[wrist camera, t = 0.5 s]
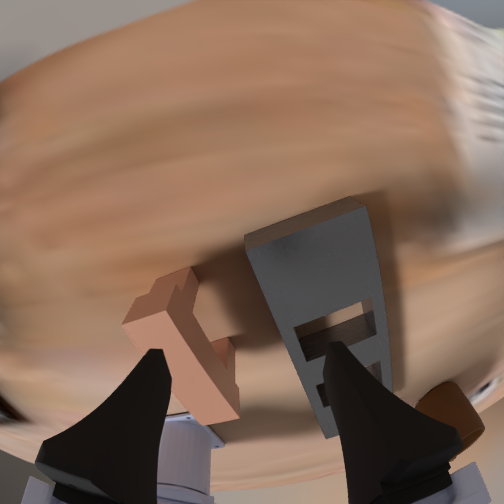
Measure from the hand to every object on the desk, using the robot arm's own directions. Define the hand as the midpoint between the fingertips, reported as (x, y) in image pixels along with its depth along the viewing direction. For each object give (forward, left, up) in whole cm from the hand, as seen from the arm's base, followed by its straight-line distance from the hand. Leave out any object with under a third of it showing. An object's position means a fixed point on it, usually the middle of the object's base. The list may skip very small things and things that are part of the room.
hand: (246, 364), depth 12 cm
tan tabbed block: (-5, -3, -10) cm, 11 cm away
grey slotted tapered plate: (+5, -10, -10) cm, 15 cm away
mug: (+17, -32, -10) cm, 38 cm away
